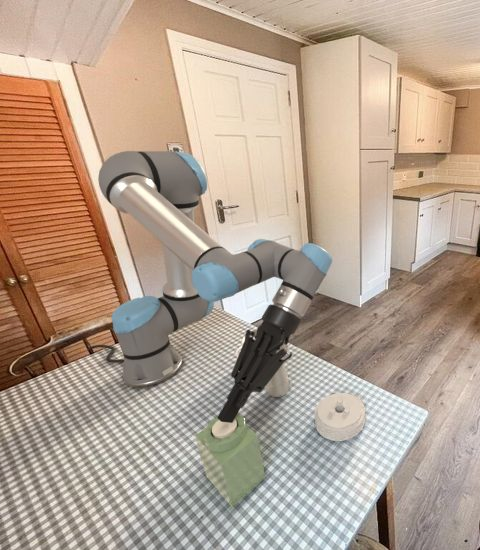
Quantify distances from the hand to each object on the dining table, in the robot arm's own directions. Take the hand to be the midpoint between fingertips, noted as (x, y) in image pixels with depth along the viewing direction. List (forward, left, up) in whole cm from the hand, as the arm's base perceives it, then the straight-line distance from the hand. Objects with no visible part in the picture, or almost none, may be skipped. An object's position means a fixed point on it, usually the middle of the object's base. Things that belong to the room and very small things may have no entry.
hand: (224, 420), depth 58 cm
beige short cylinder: (0, 0, -4) cm, 4 cm away
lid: (+8, +24, -16) cm, 30 cm away
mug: (-29, +25, -16) cm, 41 cm away
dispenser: (0, 0, -16) cm, 16 cm away
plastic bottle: (-13, +21, -16) cm, 29 cm away
